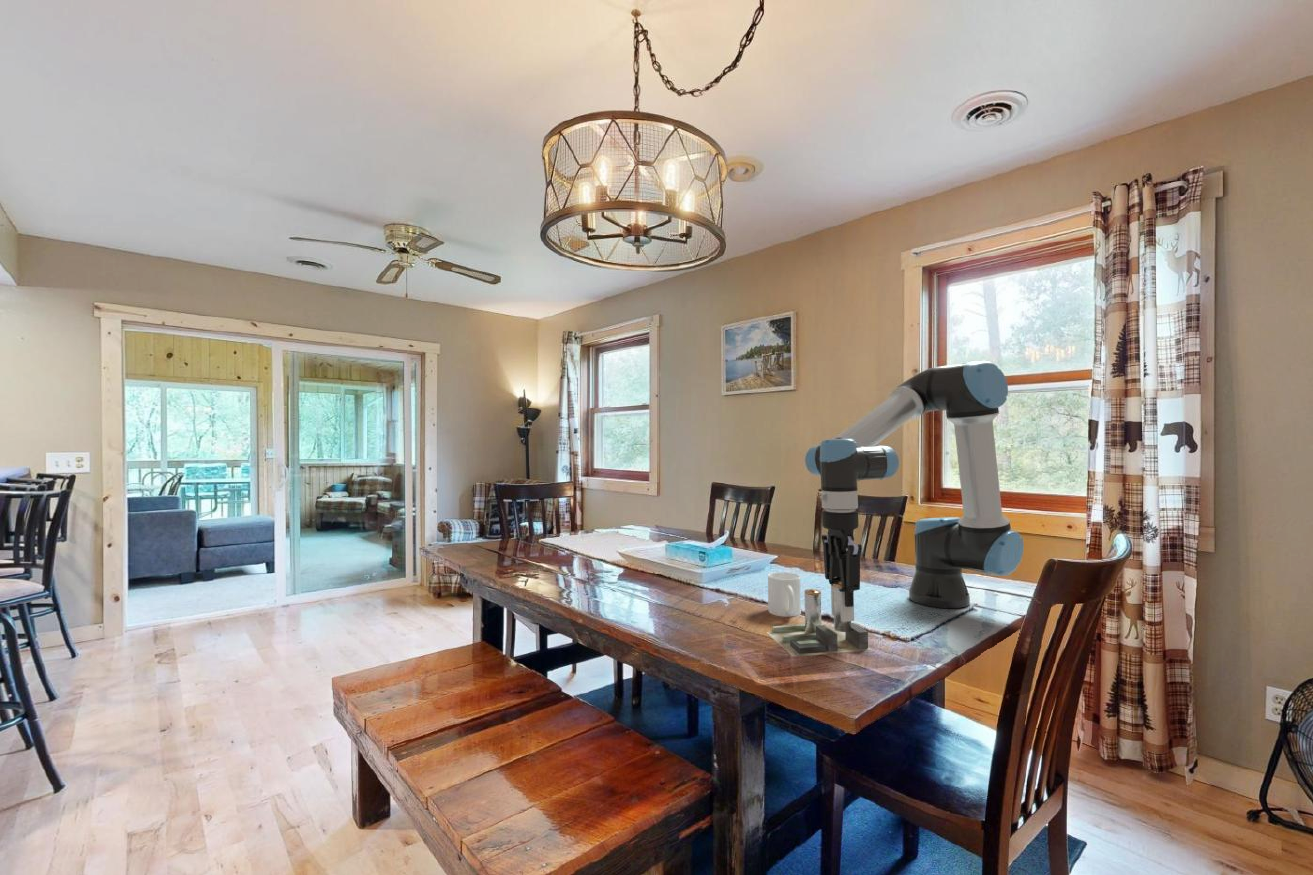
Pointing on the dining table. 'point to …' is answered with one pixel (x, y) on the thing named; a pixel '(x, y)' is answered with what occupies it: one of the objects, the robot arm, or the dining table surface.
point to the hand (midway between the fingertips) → (842, 617)
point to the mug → (784, 594)
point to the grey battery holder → (819, 640)
